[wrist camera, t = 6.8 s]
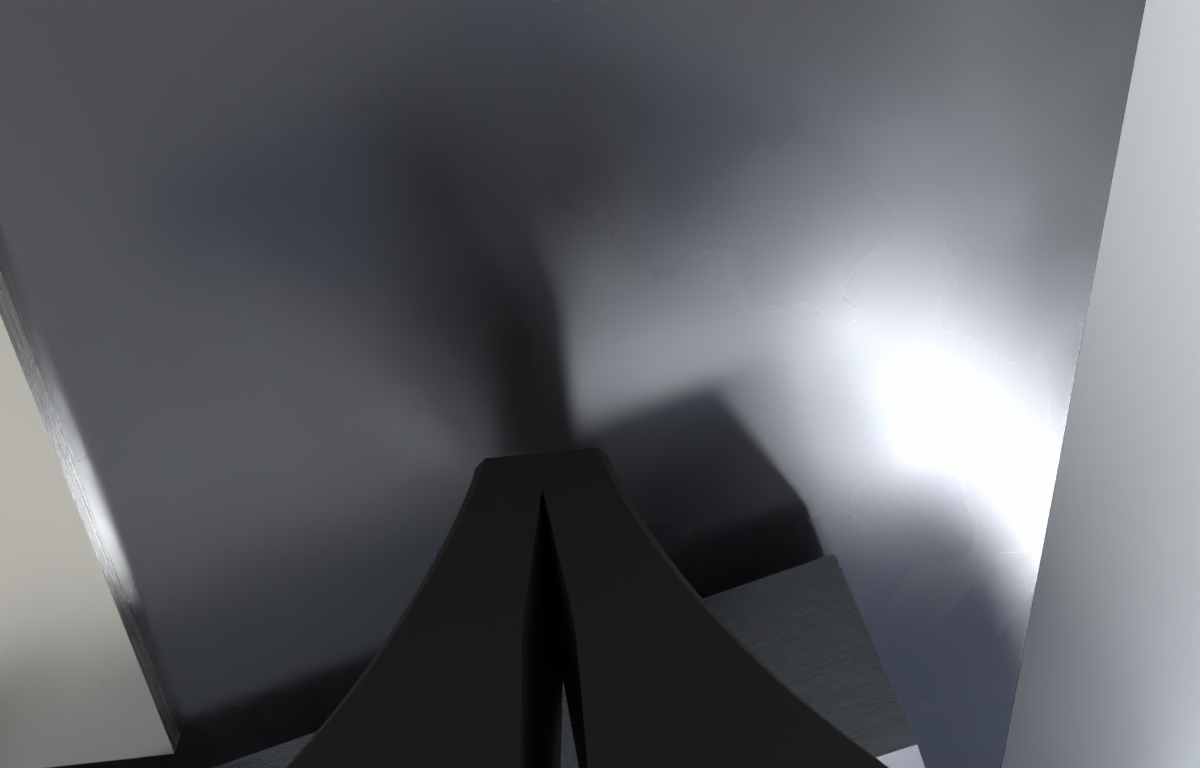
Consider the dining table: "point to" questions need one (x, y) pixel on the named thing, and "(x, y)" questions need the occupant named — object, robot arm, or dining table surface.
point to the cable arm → (781, 662)
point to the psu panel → (525, 326)
